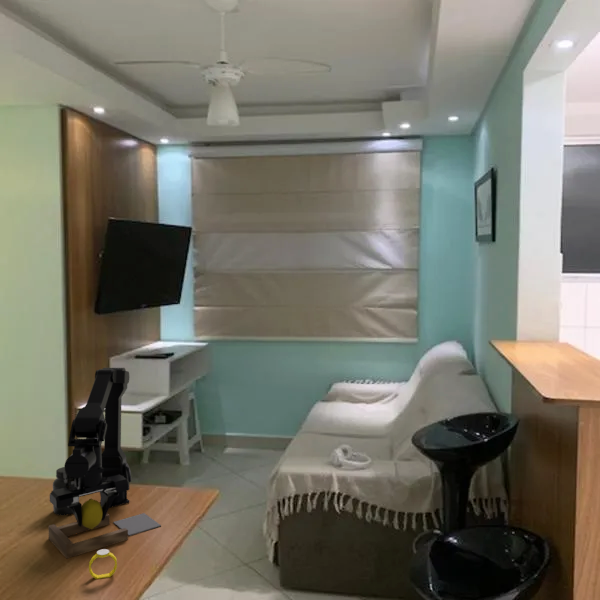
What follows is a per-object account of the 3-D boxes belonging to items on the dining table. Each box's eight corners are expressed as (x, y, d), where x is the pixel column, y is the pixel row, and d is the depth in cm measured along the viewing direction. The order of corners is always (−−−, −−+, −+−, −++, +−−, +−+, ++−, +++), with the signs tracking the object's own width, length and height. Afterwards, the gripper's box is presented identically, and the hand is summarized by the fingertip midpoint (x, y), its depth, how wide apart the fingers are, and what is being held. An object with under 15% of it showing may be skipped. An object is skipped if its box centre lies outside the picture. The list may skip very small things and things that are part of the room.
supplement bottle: (48, 511, 173) (47, 470, 172) (70, 503, 179) (69, 463, 178) (62, 518, 169) (61, 475, 168) (84, 509, 174) (83, 468, 174)
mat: (144, 514, 172) (144, 513, 172) (160, 526, 164) (160, 525, 164) (113, 523, 166) (113, 521, 166) (129, 536, 158) (129, 535, 158)
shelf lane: (107, 522, 167) (107, 509, 166) (127, 539, 157) (127, 526, 156) (48, 539, 157) (48, 525, 156) (66, 558, 147) (66, 544, 146)
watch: (116, 573, 141) (117, 547, 141) (116, 579, 138) (118, 553, 138) (88, 575, 139) (89, 549, 139) (88, 581, 136) (89, 555, 136)
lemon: (107, 526, 159) (106, 496, 158) (93, 535, 153) (92, 504, 153) (89, 523, 161) (88, 493, 160) (75, 532, 155) (74, 501, 155)
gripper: (112, 448, 168) (113, 503, 169) (41, 463, 156) (43, 522, 157) (129, 458, 159) (130, 517, 161) (56, 475, 147) (58, 538, 149)
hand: (91, 523), depth 157 cm, fingers closed on lemon, 5 cm apart
